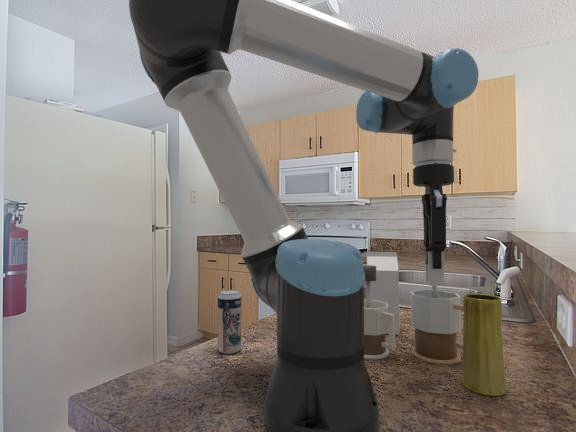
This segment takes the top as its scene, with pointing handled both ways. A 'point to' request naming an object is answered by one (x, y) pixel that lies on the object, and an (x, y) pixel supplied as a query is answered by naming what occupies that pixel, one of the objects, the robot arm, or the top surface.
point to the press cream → (376, 322)
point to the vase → (483, 345)
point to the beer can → (229, 321)
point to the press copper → (436, 326)
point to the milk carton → (386, 282)
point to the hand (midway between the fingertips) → (434, 283)
